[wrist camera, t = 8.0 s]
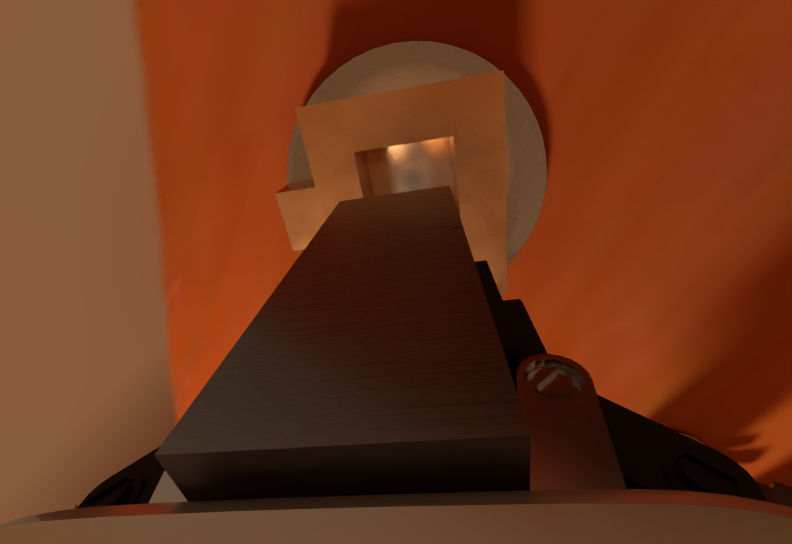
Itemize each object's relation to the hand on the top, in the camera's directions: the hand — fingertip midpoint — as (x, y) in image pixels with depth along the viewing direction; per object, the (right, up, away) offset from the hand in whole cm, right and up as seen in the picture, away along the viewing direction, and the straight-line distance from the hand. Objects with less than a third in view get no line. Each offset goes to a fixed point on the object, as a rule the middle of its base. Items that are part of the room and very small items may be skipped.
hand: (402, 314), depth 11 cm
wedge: (0, +1, +3) cm, 3 cm away
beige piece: (+1, +8, +15) cm, 17 cm away
